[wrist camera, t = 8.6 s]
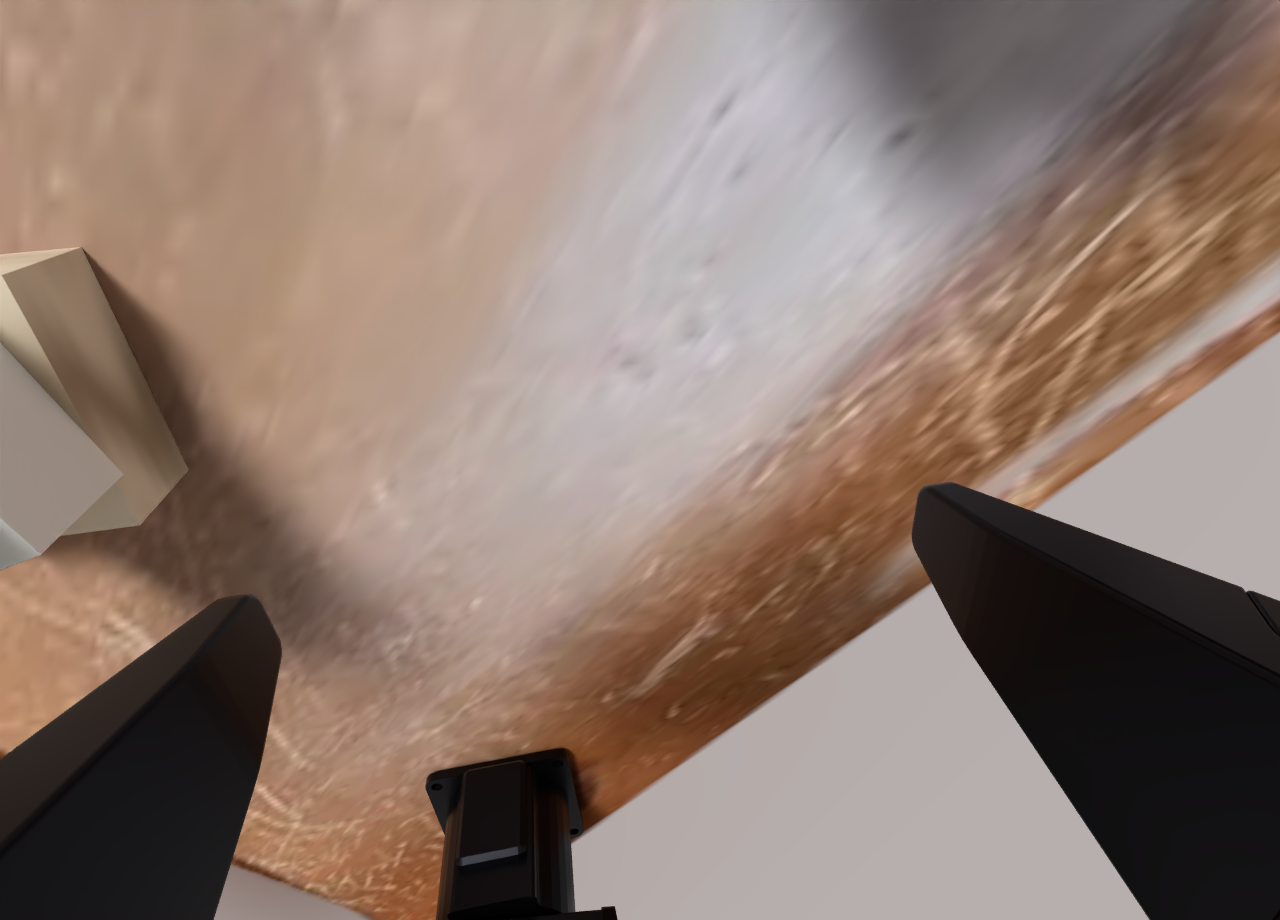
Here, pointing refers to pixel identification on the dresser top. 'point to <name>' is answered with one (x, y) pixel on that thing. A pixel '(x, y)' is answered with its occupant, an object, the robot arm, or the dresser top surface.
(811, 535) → the dresser top surface
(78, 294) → the tower base
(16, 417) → the tower mid
